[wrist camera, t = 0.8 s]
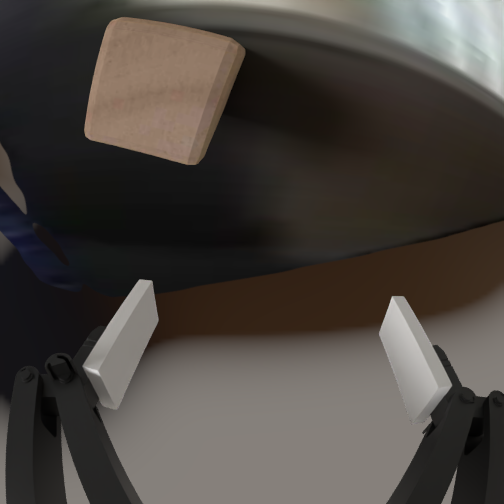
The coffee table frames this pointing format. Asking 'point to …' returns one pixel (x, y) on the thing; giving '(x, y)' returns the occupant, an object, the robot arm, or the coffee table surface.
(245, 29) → the coffee table surface
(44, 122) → the coffee table surface
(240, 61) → the block
